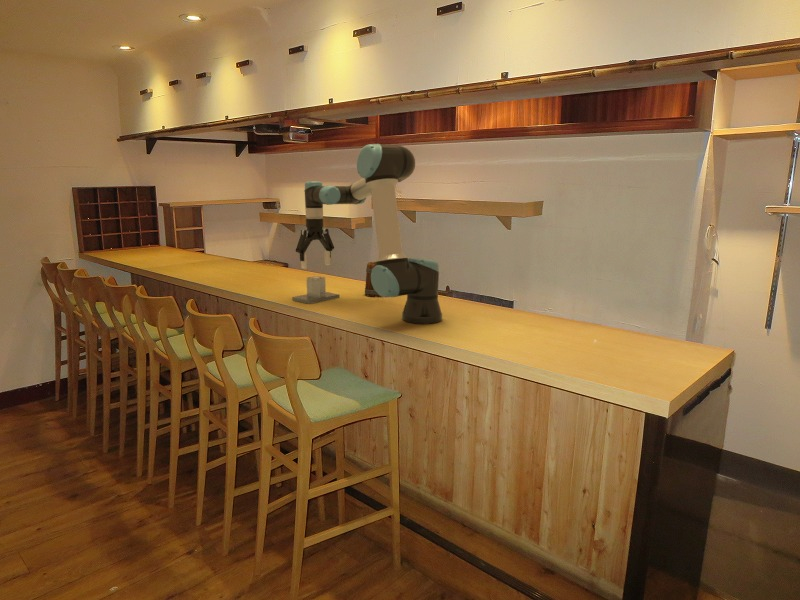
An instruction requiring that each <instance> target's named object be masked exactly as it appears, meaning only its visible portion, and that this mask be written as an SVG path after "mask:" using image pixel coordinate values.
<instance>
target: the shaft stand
mask: <svg viewBox="0 0 800 600" xmlns="http://www.w3.org/2000/svg"><path fill="white" fill-rule="evenodd" d="M311 277H312V279H320V277H321V276H319V275H318V276H317V275H314V276H311ZM291 299H292V301H294V302H297V303H304V304H307V305H311V304H316V303H320V302H324V301H325V302H326V301H331V300H336V299H341V298H340V294H338V293H333V292H328V291H326V296H325V297H320V298H311V297H307V293H306V294H302V295H297V296H292V297H291Z"/></svg>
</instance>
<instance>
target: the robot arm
mask: <svg viewBox="0 0 800 600" xmlns="http://www.w3.org/2000/svg"><path fill="white" fill-rule="evenodd" d="M415 168H416V159H415V156H414V153H413V152H412V151H411V150H410V149H408V148H407V147H405V146H403V145H392V144H383V143H382V144H380V143H369V144H366V145H364V146H363V147H362V148H361V150H360V151H359V153H358V156H357V160H356V170H357V174H358V175H359V176H360V178H361V179H358V180H357V181H355V182H354V183H352V184H350V185H339V186H338V185H323V182H322V181H306V182H305V183H304V189H303V190H304V191H303V192H304V206H305V209H304V210H305V218H306V219H305V227H306V229H300V236H299V238H298V243H297V246H296V248H295V252H296V253H298V254H299V260H300V268H301V269H303V270H308V269H307V268H308V267H307V265H308V262H307V259H308V258H307V253H306V251H307V250H308V249H309V248H308V247H309V246H310V244H311V243H312V242H313V241H316V240H319V242H320V244H321V245H322V246H323V248H324V249H325V250H324V251H323V252H324V266H331V258H332V256H331V255H332V253H331V252H333V251H334V250H335V246H334V244H333V240H332V238H331V236H330V232H329V228H323V227H324V219H323V217H324V205H326V206H327V205H328V206H331V205H361V204H363V203H365V201H366V200H367V197H370V196H371V200H372V201H371V202H372V210H373V217H374V224H375V234H376V235H375V236H376V243H377V249H378V257H377V259H376V260H375V262H376V266H375V267H374V268H373V269H372V273H371V283H372V286H373V288H374V290H375V291H376V292H377V293H378V294H379V295H380V296H382V297H383V298H395V297H399V296H400V297H401V296H406V301H405V304H404V308H403V310H402V313H401V315H402V316H401V319H402V320H403V322H407V323H410V324H411V323H413V324H421V325H422V324H423V325H427V324H430V325H431V324H436V323H439V322H441V321H443V313H442V310H441V306H440V302H439V280H440V279H439V275H440V271H439V262H438V261H436V260H433V259H425V258H418V257H408V256H407V255H406V254H405V253H404V251H403V244H402V235H401V229H400V227H401V226H400V219H399V211H398V202H397V195H396V187H395V186H396V185H397V184H398V183H400V182H403V181H404V180H407V179H408V178H409V177H411V176H412V174H413V173H414V171H415ZM382 297H381V298H382Z"/></svg>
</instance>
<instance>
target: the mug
mask: <svg viewBox="0 0 800 600" xmlns="http://www.w3.org/2000/svg"><path fill="white" fill-rule="evenodd" d="M375 266H376V261H370V262H368V261H367V263H366V271H365V272H366V276H365V288H364V294H365V296H367V297H371V298H382V296H380V295H379V294H378V293H377V292H376V291H375V290H374V288H373V286H372V283H371V273H372V269H373V268H374V267H375Z"/></svg>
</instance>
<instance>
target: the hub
mask: <svg viewBox="0 0 800 600" xmlns="http://www.w3.org/2000/svg"><path fill="white" fill-rule="evenodd" d="M312 277H313V276H309V277H308V276H307V277H306V294H307V297H311V298H320V297H325V296H326V292H327V291H326V286H327V285H326V277H324V276H319V277H320V279H312Z"/></svg>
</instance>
